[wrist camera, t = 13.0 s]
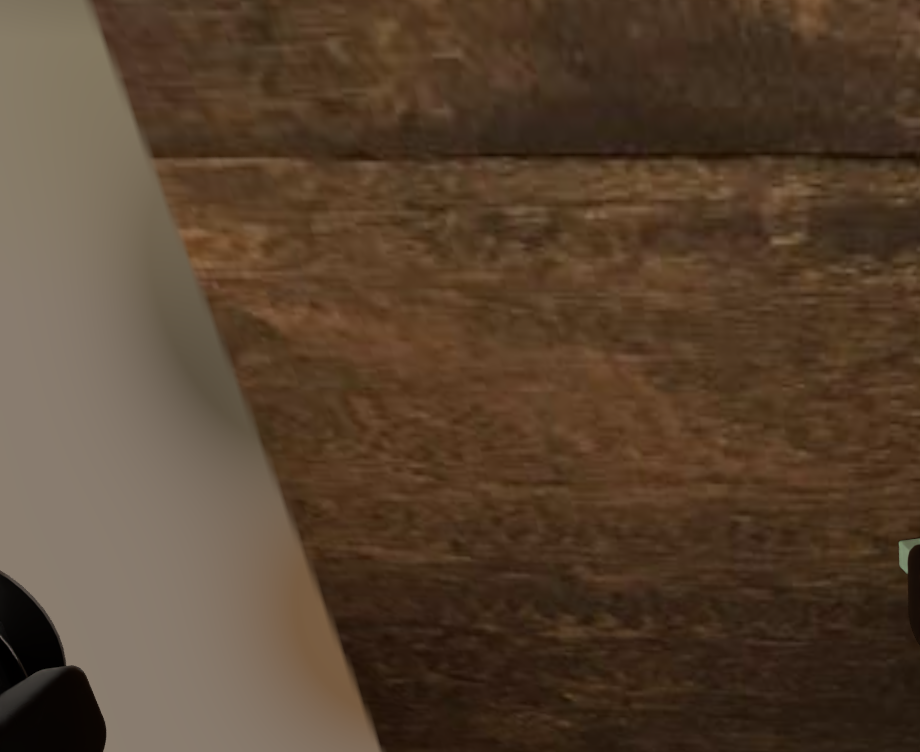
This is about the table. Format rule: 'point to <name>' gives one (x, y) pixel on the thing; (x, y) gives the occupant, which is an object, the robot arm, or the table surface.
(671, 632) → the table surface
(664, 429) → the table surface
